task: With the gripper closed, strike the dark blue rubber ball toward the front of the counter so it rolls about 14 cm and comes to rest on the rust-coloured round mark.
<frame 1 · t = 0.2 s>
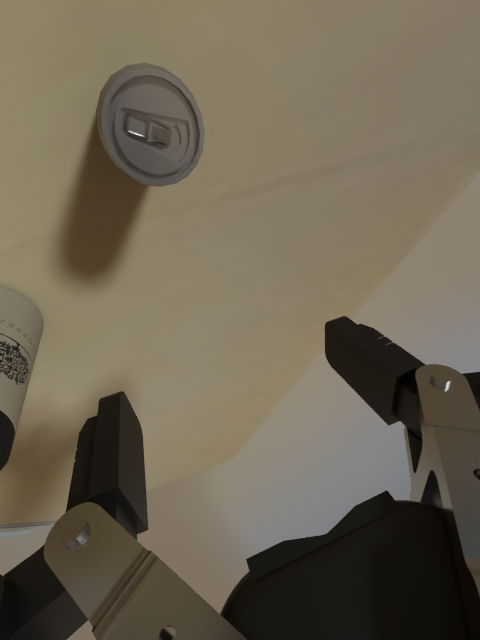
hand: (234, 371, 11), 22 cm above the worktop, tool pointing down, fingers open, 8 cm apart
beer can: (136, 118, 24), on the worktop
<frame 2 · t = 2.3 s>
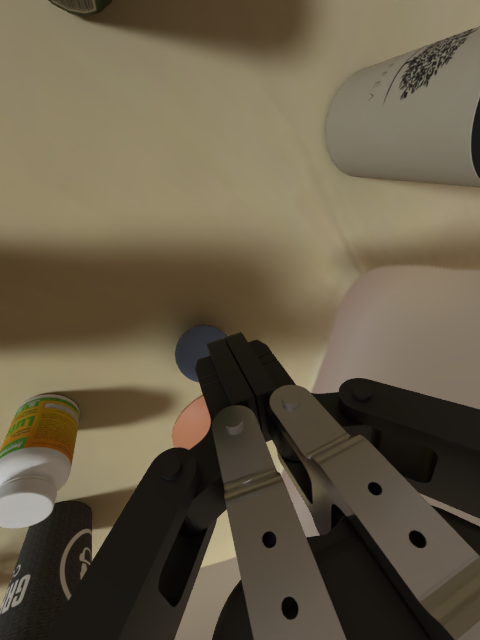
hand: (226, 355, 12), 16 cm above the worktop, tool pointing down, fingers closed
supplement bottle: (50, 412, 29), on the worktop
ball: (204, 353, 29), on the worktop
coffee cup: (62, 516, 37), on the worktop
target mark: (223, 426, 38), on the worktop
travel mug: (361, 126, 26), on the worktop
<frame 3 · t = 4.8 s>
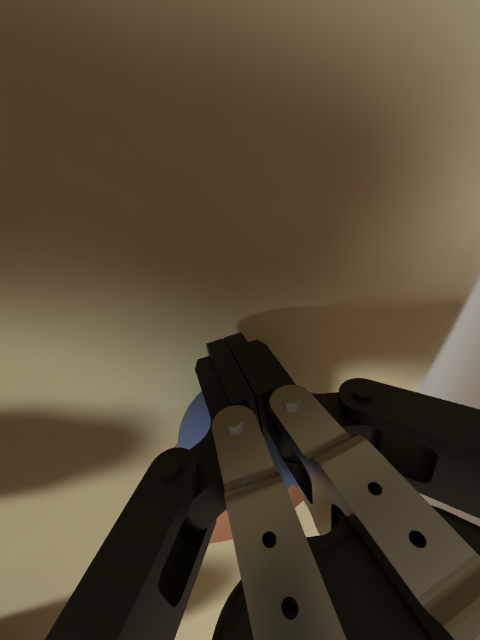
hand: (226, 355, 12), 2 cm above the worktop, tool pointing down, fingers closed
ball: (240, 439, 13), on the worktop
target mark: (247, 479, 20), on the worktop
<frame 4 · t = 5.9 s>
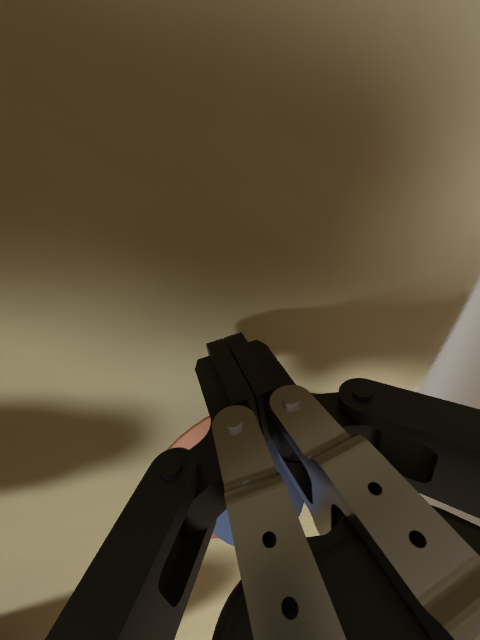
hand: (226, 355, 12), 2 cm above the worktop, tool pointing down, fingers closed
ball: (249, 479, 15), on the worktop
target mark: (250, 473, 19), on the worktop
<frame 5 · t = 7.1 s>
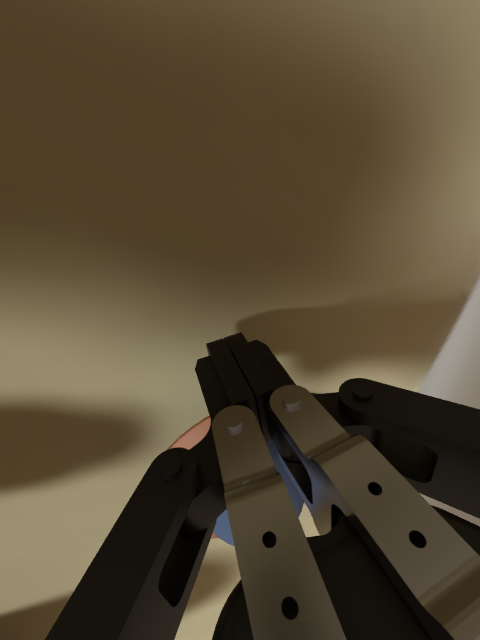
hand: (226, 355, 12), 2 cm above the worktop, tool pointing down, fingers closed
ball: (249, 479, 15), on the worktop
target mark: (250, 473, 19), on the worktop
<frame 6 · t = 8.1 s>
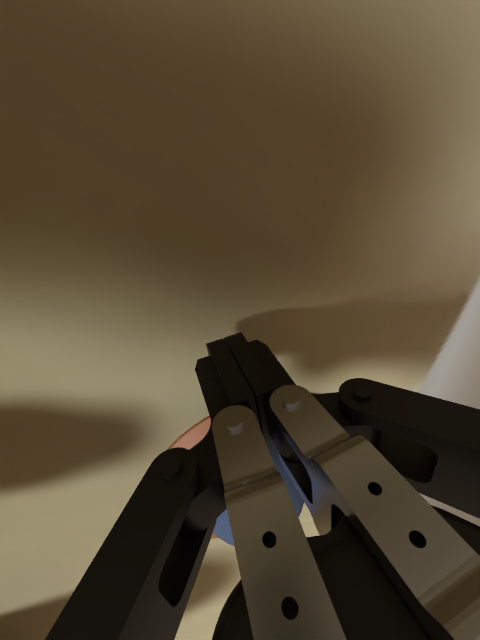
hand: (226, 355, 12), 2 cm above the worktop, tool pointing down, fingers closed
ball: (249, 479, 15), on the worktop
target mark: (250, 473, 19), on the worktop
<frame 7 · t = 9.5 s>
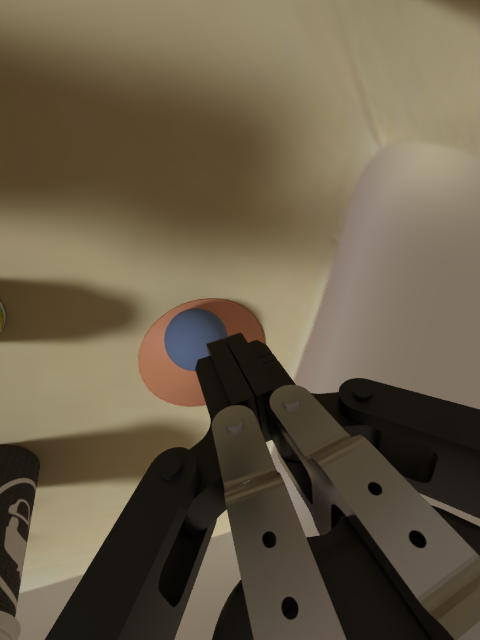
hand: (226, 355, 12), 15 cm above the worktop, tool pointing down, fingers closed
ball: (196, 339, 26), on the worktop
coffee cup: (1, 466, 29), on the worktop
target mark: (205, 356, 30), on the worktop
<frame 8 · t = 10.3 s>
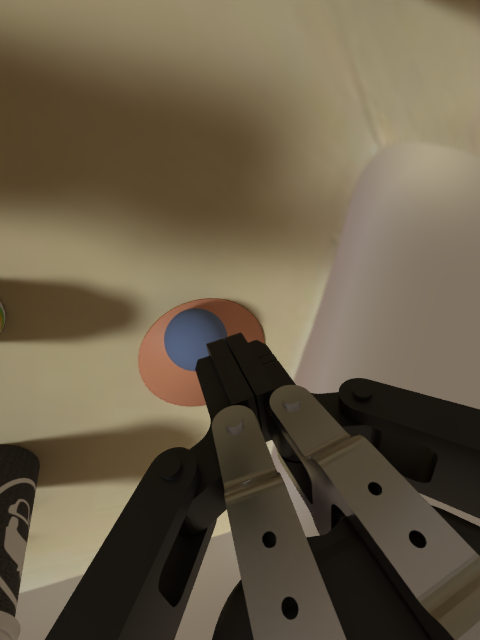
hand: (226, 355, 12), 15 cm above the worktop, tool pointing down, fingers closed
ball: (196, 339, 26), on the worktop
coffee cup: (1, 466, 29), on the worktop
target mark: (205, 356, 30), on the worktop
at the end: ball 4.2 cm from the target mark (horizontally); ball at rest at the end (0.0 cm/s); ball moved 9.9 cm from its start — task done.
